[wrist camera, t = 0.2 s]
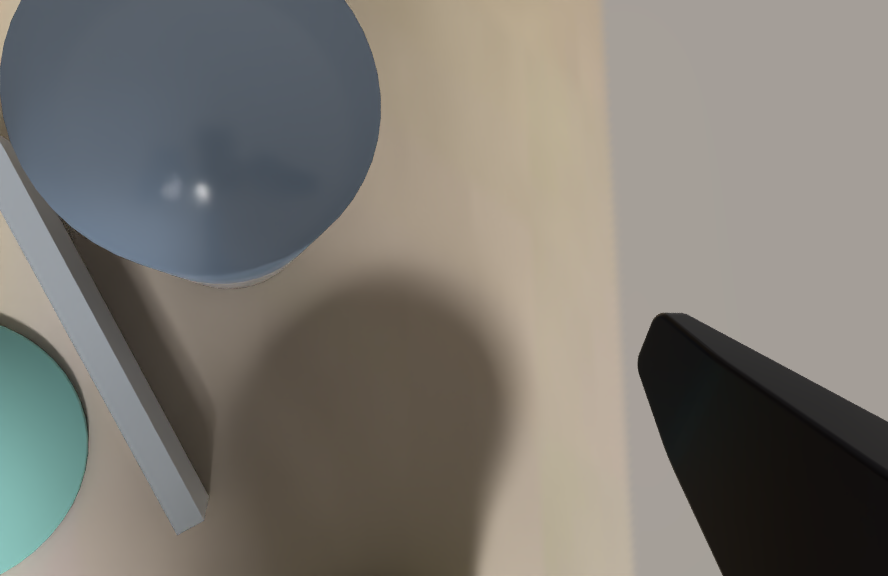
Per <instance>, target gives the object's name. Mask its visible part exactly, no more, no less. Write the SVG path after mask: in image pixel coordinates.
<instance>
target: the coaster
mask: <svg viewBox="0 0 888 576" xmlns="http://www.w3.org/2000/svg"><path fill="white" fill-rule="evenodd" d="M87 456H88V432H87V425H86V418H85V415H84V411H83V408H82V404H81V401H80V399H79V397H78V395H77V393H76V390H75V388H74V386H73V385H72V383H71V382H70V380H69V378H68V377H67V375H66V374H65V372H64V371H63V370H62V369H61V368H60V366H59V365H58V364H57V363H56V362H55V361H54V359H53V358H52V357H50V356H49V355H48V354H47V353H46V352H45V351H44V350H43V349H41V348H40V347H39V346H38V345H36V344H35V343H33V342H32V341H30V340H29V339H27V338H26V337H24V336H23V335H21V334H19V333H17V332H15V331H13V330H11V329H9V328H7V327H4V326H1V325H0V574H2V573H4V572H5V571H7V570H9V569H10V568H12V567H14V566H15V565H17V564H19V563H20V562H21V561H23V560H24V559H25V558H26V557H28V556H29V555H30V554H32V553H33V552H34V551H35V550H36V549H37V548H38V547H39V546H40V545H41V544H42V543H43V542H45V541H46V540H47V539H48V538H49V536H50V535H51V534H52V533H53V532H54V530H55V529H56V528H57V527H58V525H59V524H60V523H61V522H62V520H63V519H64V517H65V516H66V514H67V513H68V511H69V509H70V508H71V506H72V504H73V502H74V500H75V498H76V496H77V493H78V491H79V489H80V487H81V483H82V480H83V476H84V473H85V469H86V462H87Z"/></svg>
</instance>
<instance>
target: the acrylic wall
mask: <svg viewBox="0 0 888 576" xmlns="http://www.w3.org/2000/svg"><path fill="white" fill-rule="evenodd" d="M0 211H1V213H2V215H3V216H4V218H5V220H6V222H7V224H8V226H9V227H10V229H11V231H12V233H13V235H14V237H15V238H16V240H17V242H18V244H19V246H20V248H21V249H22V251H23V253H24V255H25V257H26V259H27V260H28V262H29V264H30V266H31V268H32V270H33V271H34V273H35V275H36V277H37V279H38V281H39V282H40V284H41V286H42V288H43V290H44V292H45V293H46V295H47V297H48V299H49V301H50V303H51V305H52V306H53V308H54V310H55V312H56V314H57V316H58V317H59V319H60V321H61V323H62V325H63V327H64V328H65V330H66V332H67V334H68V336H69V338H70V339H71V341H72V343H73V345H74V347H75V349H76V350H77V352H78V354H79V356H80V358H81V360H82V361H83V363H84V365H85V367H86V369H87V371H88V372H89V374H90V376H91V378H92V380H93V382H94V384H95V385H96V387H97V389H98V391H99V393H100V395H101V396H102V398H103V400H104V402H105V404H106V406H107V407H108V409H109V411H110V413H111V415H112V417H113V418H114V420H115V422H116V424H117V426H118V428H119V429H120V431H121V433H122V435H123V437H124V439H125V440H126V442H127V444H128V446H129V448H130V450H131V451H132V453H133V455H134V457H135V459H136V461H137V462H138V464H139V466H140V468H141V470H142V472H143V474H144V475H145V477H146V479H147V481H148V483H149V485H150V486H151V488H152V490H153V492H154V494H155V496H156V497H157V499H158V501H159V503H160V505H161V507H162V508H163V510H164V512H165V514H166V516H167V518H168V519H169V521H170V523H171V525H172V527H173V529H174V530H175V532H176V534H177V535H179V534H181V533H182V532H184V531H186V530H188V529H190V528H191V527H193V526H195V525H197V524H199V523H200V522H202V521H204V519H205V514H206V509H207V504H208V499H209V496H208V494H207V492H206V490H205V488H204V486H203V485H202V483H201V481H200V479H199V477H198V475H197V473H196V472H195V470H194V468H193V466H192V464H191V462H190V460H189V458H188V457H187V455H186V453H185V451H184V449H183V447H182V445H181V444H180V442H179V440H178V438H177V436H176V434H175V432H174V430H173V429H172V427H171V425H170V423H169V421H168V419H167V417H166V416H165V414H164V412H163V410H162V408H161V406H160V404H159V402H158V401H157V399H156V397H155V395H154V393H153V391H152V389H151V388H150V386H149V384H148V382H147V380H146V378H145V376H144V374H143V373H142V371H141V369H140V367H139V365H138V363H137V361H136V360H135V358H134V356H133V354H132V352H131V350H130V348H129V346H128V345H127V343H126V341H125V339H124V337H123V335H122V333H121V331H120V330H119V328H118V326H117V324H116V322H115V320H114V318H113V317H112V315H111V313H110V311H109V309H108V307H107V305H106V303H105V302H104V300H103V298H102V296H101V294H100V292H99V290H98V289H97V287H96V285H95V283H94V281H93V279H92V277H91V275H90V274H89V272H88V270H87V268H86V266H85V264H84V262H83V261H82V259H81V257H80V255H79V253H78V251H77V249H76V247H75V246H74V244H73V242H72V240H71V238H70V236H69V234H68V233H67V231H66V229H65V227H64V225H63V223H62V221H61V219H60V218H59V216H58V214H57V213H56V212H55V211H54V210H53V209H52V208H51V207H50V206H49V205H48V203H47V202H46V201H45V200H44V199H43V197H42V196H41V195H40V194H39V192H38V191H37V190H36V189H35V187H34V186H33V184H32V183H31V181H30V179H29V178H28V176H27V175H26V173H25V171H24V170H23V168H22V167H21V164H20V162H19V160H18V158H17V156H16V153H15V151H14V149H13V147H12V145H11V142H10V141H8V140H7V139H5V138H4V137H2V136H1V135H0Z"/></svg>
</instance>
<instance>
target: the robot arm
mask: <svg viewBox="0 0 888 576" xmlns="http://www.w3.org/2000/svg"><path fill="white" fill-rule="evenodd" d="M638 372H639V375H640V378H641V381H642V384H643V387H644V390H645V393H646V396H647V399H648V401H649V404H650V407H651V410H652V413H653V416H654V419H655V422H656V425H657V427H658V430H659V433H660V436H661V439H662V442H663V445H664V448H665V450H666V453H667V456H668V458H669V460H670V463H671V465H672V467H673V470H674V472H675V474H676V476H677V478H678V481H679V483H680V485H681V487H682V489H683V491H684V493H685V496H686V498H687V500H688V502H689V504H690V506H691V509H692V510H693V513H694V515H695V517H696V519H697V521H698V523H699V526H700V528H701V530H702V532H703V534H704V536H705V539H706V541H707V543H708V545H709V547H710V549H711V551H712V554H713V556H714V558H715V560H716V562H717V564H718V566H719V569H720V571H721V573H722V575H723V576H888V422H887V421H885V420H883V419H882V418H880V417H878V416H876V415H874V414H872V413H870V412H868V411H867V410H865V409H863V408H861V407H859V406H857V405H855V404H854V403H852V402H850V401H847V400H846V399H844V398H842V397H840V396H839V395H837V394H835V393H833V392H831V391H829V390H827V389H826V388H823V387H822V386H820V385H818V384H816V383H814V382H812V381H810V380H809V379H807V378H805V377H803V376H801V375H799V374H798V373H796V372H794V371H792V370H790V369H788V368H786V367H784V366H782V365H781V364H779V363H777V362H775V361H773V360H771V359H769V358H768V357H766V356H764V355H762V354H760V353H758V352H756V351H754V350H753V349H751V348H749V347H747V346H745V345H743V344H741V343H739V342H738V341H736V340H734V339H732V338H730V337H728V336H726V335H725V334H723V333H721V332H719V331H717V330H715V329H713V328H711V327H710V326H708V325H706V324H704V323H702V322H700V321H698V320H697V319H695V318H693V317H691V316H689V315H687V314H683V313H660V314H658V315H657V316H656V317H655V318H654V319H653V321H652V323H651V326H650V328H649V331H648V333H647V336H646V338H645V341H644V343H643V346H642V348H641V351H640V353H639V356H638Z"/></svg>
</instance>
